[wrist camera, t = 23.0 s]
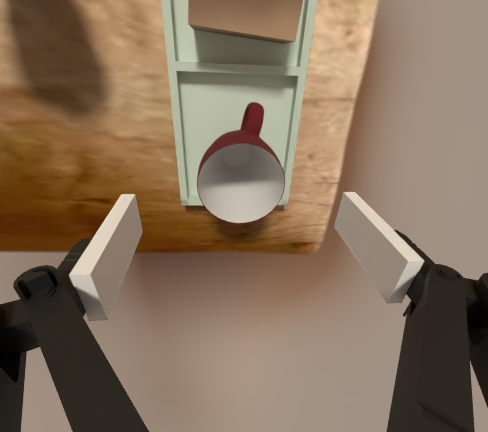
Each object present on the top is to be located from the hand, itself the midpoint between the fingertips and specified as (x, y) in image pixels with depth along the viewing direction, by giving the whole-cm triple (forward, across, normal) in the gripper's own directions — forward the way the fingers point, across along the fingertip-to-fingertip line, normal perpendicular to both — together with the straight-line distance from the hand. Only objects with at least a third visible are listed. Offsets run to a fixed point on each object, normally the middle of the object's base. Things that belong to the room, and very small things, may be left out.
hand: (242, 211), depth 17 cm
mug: (+17, +1, 0) cm, 17 cm away
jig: (+18, +1, +5) cm, 18 cm away
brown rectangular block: (+17, +1, +12) cm, 21 cm away
